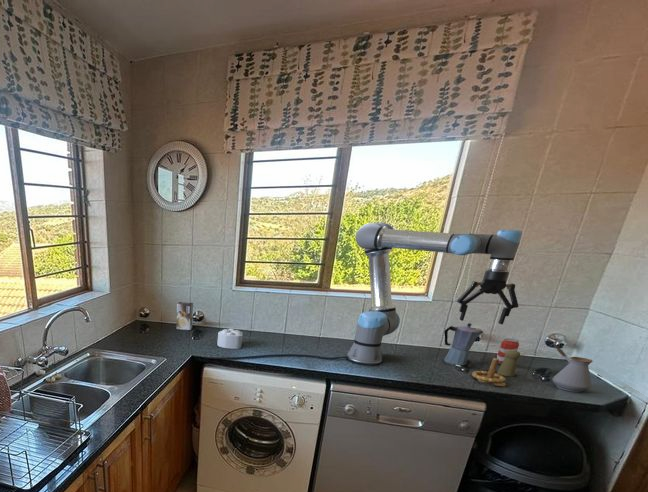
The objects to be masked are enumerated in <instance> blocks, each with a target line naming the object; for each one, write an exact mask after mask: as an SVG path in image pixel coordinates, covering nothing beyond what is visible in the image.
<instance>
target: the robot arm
mask: <svg viewBox="0 0 648 492" xmlns="http://www.w3.org/2000/svg"><path fill="white" fill-rule="evenodd" d="M522 236H523V231H522V230H520V229H499V230H498V231H497V233H496V234H487V233H486V234H484V233H452V232H451V233H449V232H448V233H447V232H436V231H422V230H408V229H395V228H394V227H393V226H392V225H390V224H389V223H386V222H368V223H365V224H363V225H362V226H360V227H359V228H358V229H357V231H356V233H355V238H354V239H355V243H356V245H357V246H358V247H360V248H361V249H364V255H365V256H366V257H368V267H369V268H368V269H369V283H370V298H371V299H370V300H371V306H370V307H369V308H368V311H367V310H366V311H364V312H361V313H360V314H359V316H358V319H357V324H356V329H355V334H354V339H353V344H352V345H351V347H350V349H349V350H348V351H347V354H346V356H345V355H344V356H334V357H333V356H332V357H330V356H322V355H312V354H299V353H298V354H297V353H279V354H278V353H276V354H260V355H248V356H247V355H246V356H229V357H228V356H227V357H226V356H223V357H222V356H205V359H209V360H238V359H252V358H253V359H255V358H266V357H267V358H268V357H309V358H310V357H311V358H318V359H325V360H339V359H346V360H349V361H350V362H351V363H355V364H359V365H363V366H377V365H380V364H381V363H382V361H383V357H382V349H381V346H382V340H383V339H384V338H383V337H384V336H388V335H390V334H393V333H394V332H395V331H396V330H398V328H399V326H400V325H401V318H400V315H399V313H397V307H396V306H395V305H394V304H393V301H392V284H391V267H390V253H391V252H392V251H393V249H400V250H401V249H402V250H413V251H423V252H434V253H443V254H453V255H457V256H467V255H472V254H478V255H479V254H481V255H490V257H489V259H488V262H487V265H486V270H485V272H484V275H483V277H482V281H476V280H472V282H471V284H470V286H469V287H468V288H467V289H466V290H465V291H464V292H463V293H462V294H461V295H460V296H459V298H458V299H457V300H456V302H457V303H458V304H460V307H459V313H460V316H459V321H461V322H463V321H464V320H465V317H466V313H467V310H468V307H469V305H468V304H470V303H471V302H472V301H474V300H475V299H476V298H478V297H479V296H481V295H483V294H486V295H488V294H489V295H490V294H491V295H498V296H499V298H500V299H501V301H502V302H503V304H504V306H505V307H503V309H502V311H501V313H500V317H499V320H498V324H499V325H504V322H505V320H506V317H509V316H510V314H511V311H512V310H513V309H516V308H519V302H518V298H517V293H516V291H515V288H516V284H515V283H512V282H510V283H507V281H508V279H509V275H510V272H509V271H511V270H512V266H513V263H514V260H515V257H516V255H517V252H518V249H519V246H520V244H521V239H522ZM478 287H480V288H479V289H478V290H476V291H475V292H474V293H472V292H473V291H474V290H475V289H476V288H478ZM505 288H506V289H507V290H508V294H509V297H510V301H511V302H510V301H509V299H508V298H507V296H506V295H505V293H504V291H503V290H504V289H505ZM470 294H471V295H470ZM469 295H470V296H469Z"/></svg>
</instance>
